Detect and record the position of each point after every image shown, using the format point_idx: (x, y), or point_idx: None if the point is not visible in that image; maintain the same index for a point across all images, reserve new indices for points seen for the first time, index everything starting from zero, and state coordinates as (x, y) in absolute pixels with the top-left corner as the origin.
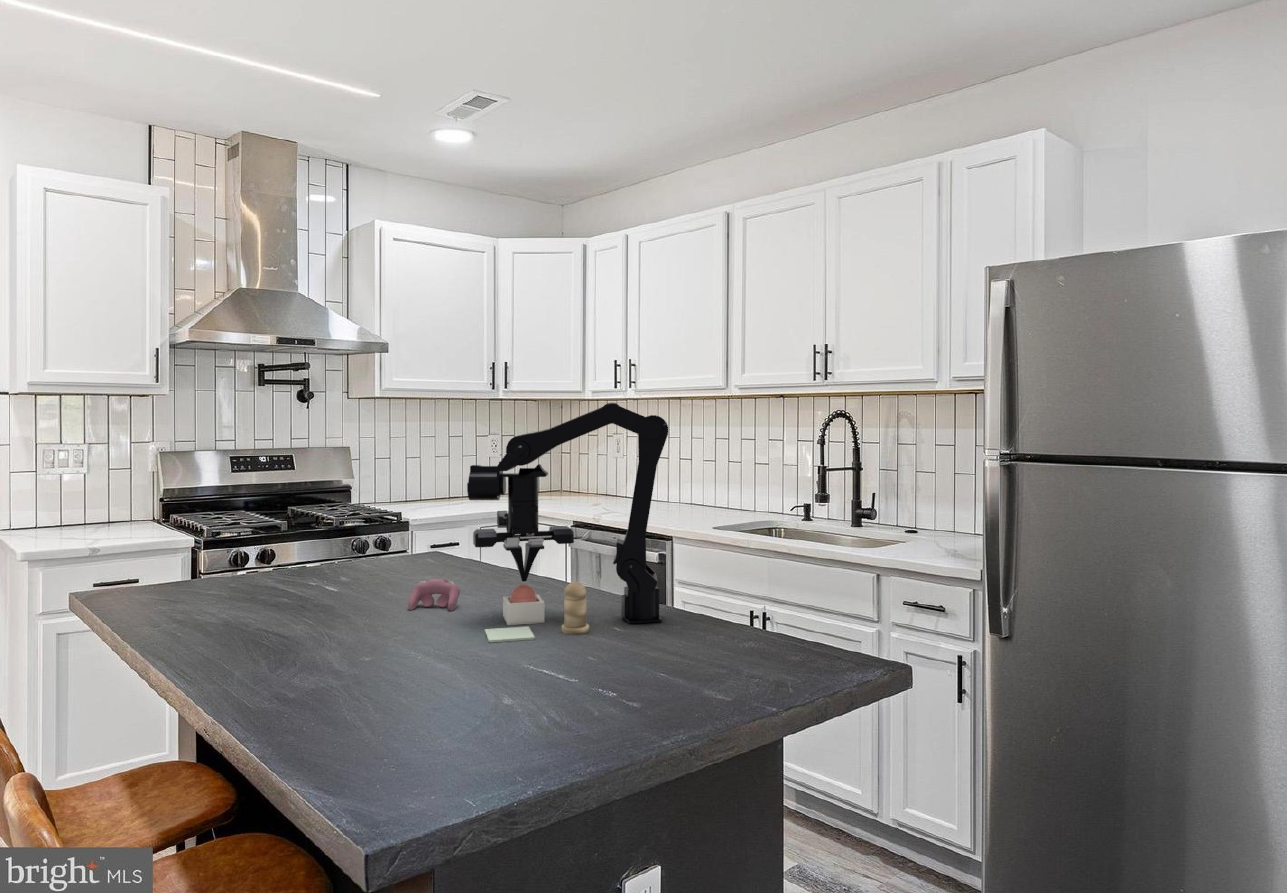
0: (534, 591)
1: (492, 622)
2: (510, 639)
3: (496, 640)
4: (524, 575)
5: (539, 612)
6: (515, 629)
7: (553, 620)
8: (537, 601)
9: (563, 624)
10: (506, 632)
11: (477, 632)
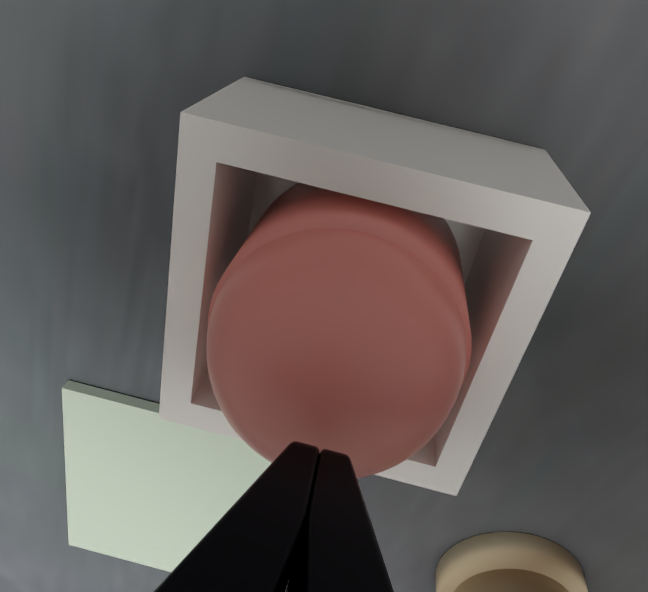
0: (431, 438)
1: (137, 199)
2: (162, 566)
3: (101, 551)
4: (286, 588)
5: None
6: (219, 468)
7: (542, 354)
8: (483, 329)
9: (469, 566)
10: (163, 487)
11: (30, 371)
